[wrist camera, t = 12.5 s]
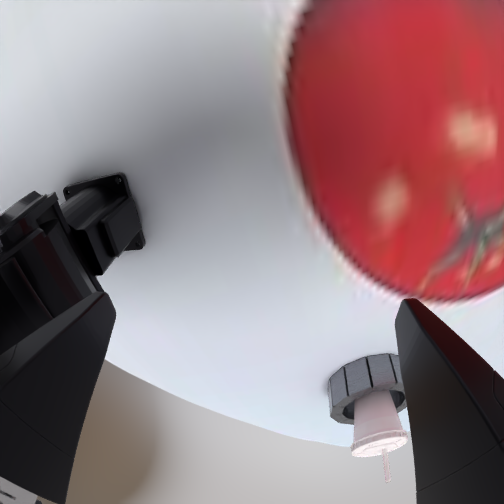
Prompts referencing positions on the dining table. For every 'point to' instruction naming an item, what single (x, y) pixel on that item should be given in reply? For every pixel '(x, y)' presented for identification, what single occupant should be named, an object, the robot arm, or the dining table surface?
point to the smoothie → (377, 427)
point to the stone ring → (365, 384)
